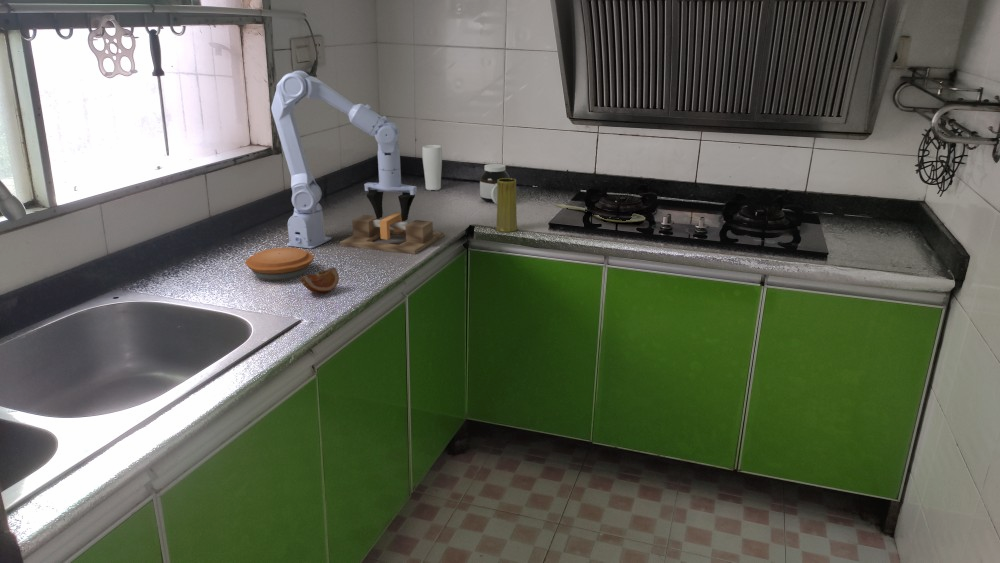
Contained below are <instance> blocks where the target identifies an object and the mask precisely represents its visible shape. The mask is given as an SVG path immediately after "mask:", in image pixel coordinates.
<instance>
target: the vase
mask: <svg viewBox="0 0 1000 563" xmlns="http://www.w3.org/2000/svg"><path fill="white" fill-rule="evenodd" d="M497 184H498V186H497V204H496V205H497V206H496V227H495V229H496V231H498V232H500V233H513V232H516V231H517V230H518V225H517V224H518V223H517V222H518V221H517V220H518V219H517V179H516V178H512V177H511V178H501V179H498V180H497Z"/></svg>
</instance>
